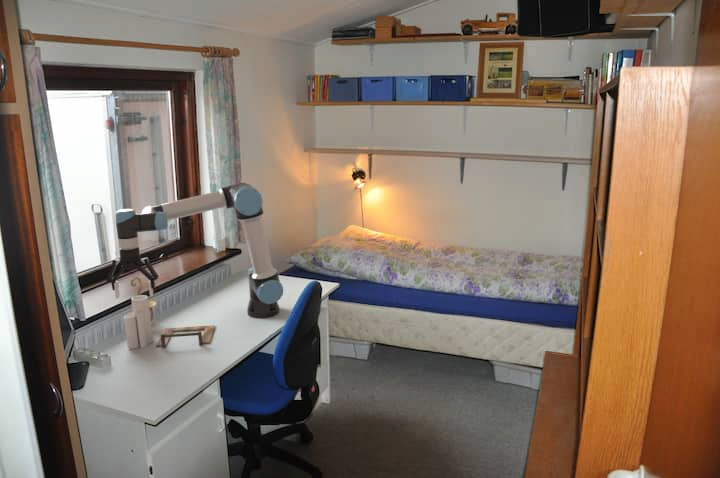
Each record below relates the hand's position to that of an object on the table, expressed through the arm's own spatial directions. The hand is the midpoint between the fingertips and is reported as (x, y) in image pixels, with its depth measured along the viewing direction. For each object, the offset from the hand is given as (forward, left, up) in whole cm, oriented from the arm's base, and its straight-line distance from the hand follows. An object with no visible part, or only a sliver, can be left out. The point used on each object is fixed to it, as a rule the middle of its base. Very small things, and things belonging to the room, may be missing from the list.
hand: (134, 296), depth 234 cm
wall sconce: (+3, -17, -22) cm, 28 cm away
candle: (0, 0, -22) cm, 22 cm away
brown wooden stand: (-18, -4, -22) cm, 28 cm away
